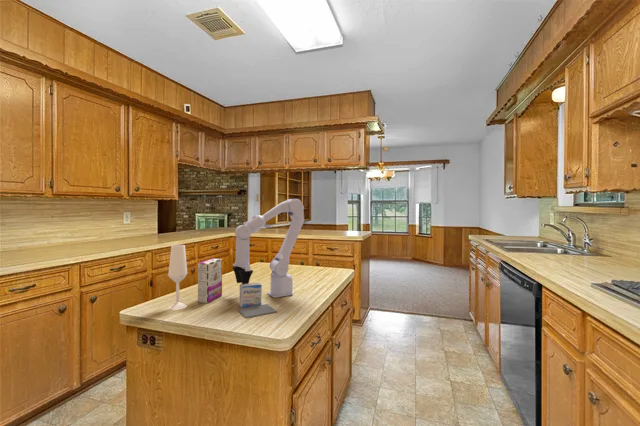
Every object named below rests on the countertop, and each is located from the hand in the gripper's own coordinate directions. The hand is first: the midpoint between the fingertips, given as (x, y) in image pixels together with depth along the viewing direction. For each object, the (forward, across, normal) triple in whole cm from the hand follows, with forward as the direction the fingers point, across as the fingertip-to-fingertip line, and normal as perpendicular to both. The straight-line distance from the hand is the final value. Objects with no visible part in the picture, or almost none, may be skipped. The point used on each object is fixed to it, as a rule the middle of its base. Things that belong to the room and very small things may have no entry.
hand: (242, 284), depth 127 cm
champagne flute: (+6, -2, -25) cm, 26 cm away
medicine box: (+6, +10, 0) cm, 12 cm away
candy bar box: (+6, -6, -12) cm, 15 cm away
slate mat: (+6, +18, 0) cm, 19 cm away
